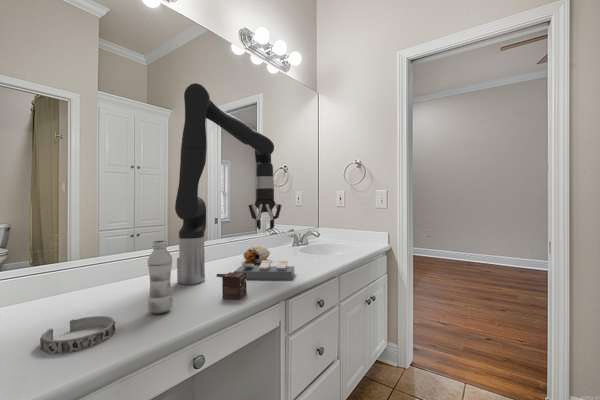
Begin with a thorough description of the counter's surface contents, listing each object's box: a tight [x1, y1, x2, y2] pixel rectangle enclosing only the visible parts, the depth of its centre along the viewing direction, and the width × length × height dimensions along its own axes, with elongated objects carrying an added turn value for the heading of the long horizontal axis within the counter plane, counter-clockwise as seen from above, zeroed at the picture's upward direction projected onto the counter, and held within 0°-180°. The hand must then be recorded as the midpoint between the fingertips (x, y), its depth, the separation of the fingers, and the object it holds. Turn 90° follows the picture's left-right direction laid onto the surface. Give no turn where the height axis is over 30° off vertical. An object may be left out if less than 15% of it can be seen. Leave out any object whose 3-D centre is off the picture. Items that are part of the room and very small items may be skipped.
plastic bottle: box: [147, 240, 174, 315], centre depth 82 cm, size 6×7×20 cm
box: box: [221, 271, 248, 300], centre depth 94 cm, size 6×6×7 cm
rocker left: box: [241, 262, 255, 268], centre depth 118 cm, size 4×6×2 cm, turn 175°
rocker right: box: [276, 260, 288, 270], centre depth 117 cm, size 4×6×2 cm, turn 175°
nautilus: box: [241, 246, 271, 265], centre depth 143 cm, size 8×22×15 cm
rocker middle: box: [259, 260, 272, 270], centre depth 118 cm, size 4×6×2 cm, turn 175°
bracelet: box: [39, 315, 116, 355], centre depth 67 cm, size 14×14×3 cm
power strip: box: [215, 265, 295, 281], centre depth 118 cm, size 32×9×3 cm, turn 85°
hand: (265, 228), depth 119 cm, fingers open, 4 cm apart
